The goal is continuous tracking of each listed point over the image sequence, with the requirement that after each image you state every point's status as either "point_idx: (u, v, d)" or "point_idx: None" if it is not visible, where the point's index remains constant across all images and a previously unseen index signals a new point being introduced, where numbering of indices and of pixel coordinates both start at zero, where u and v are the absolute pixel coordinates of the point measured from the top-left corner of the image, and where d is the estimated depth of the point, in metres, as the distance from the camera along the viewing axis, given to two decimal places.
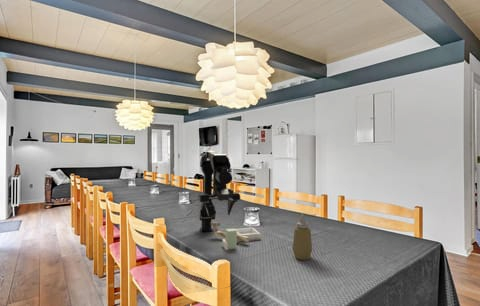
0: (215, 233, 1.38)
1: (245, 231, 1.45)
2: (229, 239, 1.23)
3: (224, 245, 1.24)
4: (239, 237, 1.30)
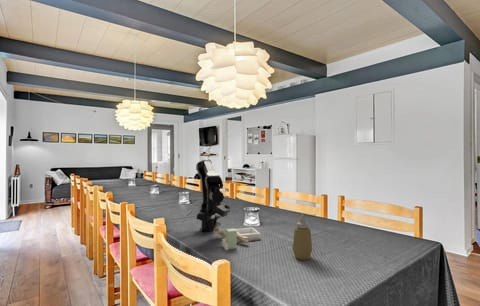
0: (216, 233, 1.38)
1: (245, 231, 1.45)
2: (229, 239, 1.23)
3: (224, 245, 1.24)
4: (239, 237, 1.30)
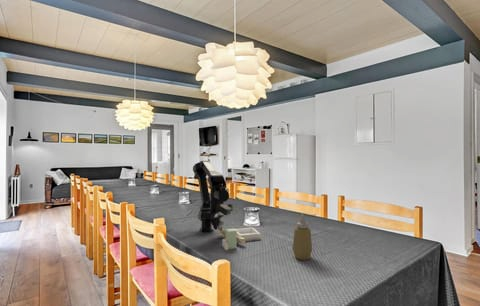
0: (219, 232, 1.40)
1: (245, 231, 1.45)
2: (229, 239, 1.23)
3: (224, 245, 1.24)
4: None
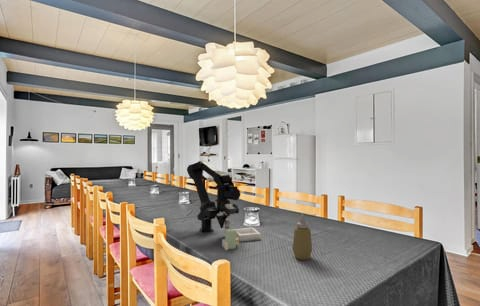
0: None
1: (245, 231, 1.45)
2: (228, 239, 1.23)
3: (224, 245, 1.24)
4: None
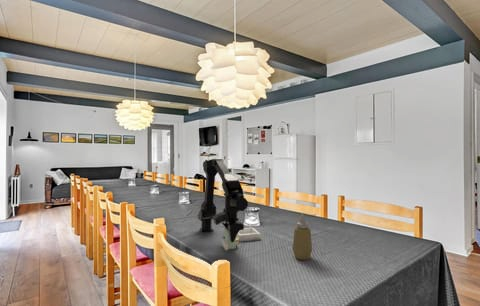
0: None
1: (245, 231, 1.45)
2: (228, 239, 1.23)
3: (224, 245, 1.24)
4: None
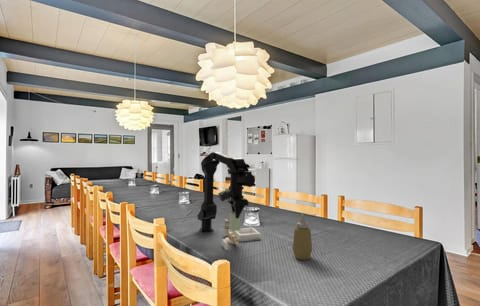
0: (225, 230, 1.42)
1: (245, 231, 1.45)
2: (233, 221, 1.27)
3: (224, 245, 1.24)
4: (233, 238, 1.29)
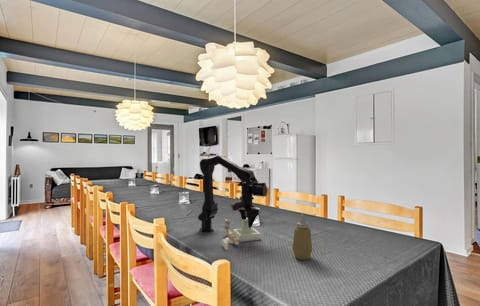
0: (225, 230, 1.42)
1: None
2: (244, 228, 1.38)
3: (224, 245, 1.24)
4: (233, 238, 1.29)
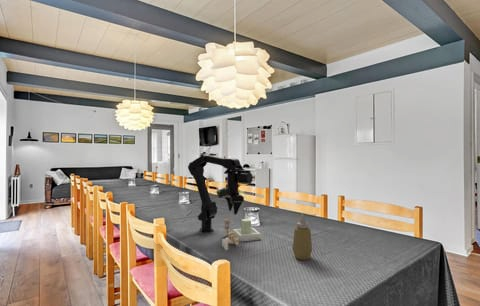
0: (225, 230, 1.42)
1: None
2: (244, 228, 1.38)
3: (224, 245, 1.24)
4: (233, 238, 1.29)
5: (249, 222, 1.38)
